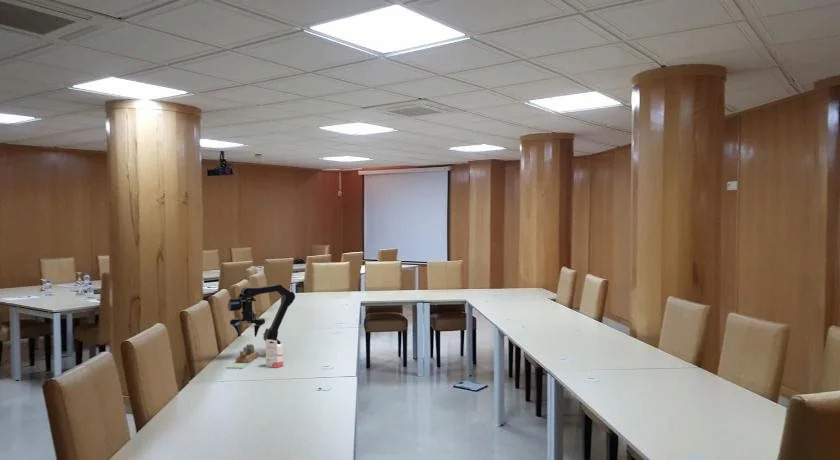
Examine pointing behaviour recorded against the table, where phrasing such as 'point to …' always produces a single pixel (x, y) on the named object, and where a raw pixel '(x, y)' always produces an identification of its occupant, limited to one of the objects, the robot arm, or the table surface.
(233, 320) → the robot arm
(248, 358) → the body
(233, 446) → the table surface
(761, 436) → the table surface
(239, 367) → the mat
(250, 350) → the lever cap
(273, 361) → the ink cartridge box
